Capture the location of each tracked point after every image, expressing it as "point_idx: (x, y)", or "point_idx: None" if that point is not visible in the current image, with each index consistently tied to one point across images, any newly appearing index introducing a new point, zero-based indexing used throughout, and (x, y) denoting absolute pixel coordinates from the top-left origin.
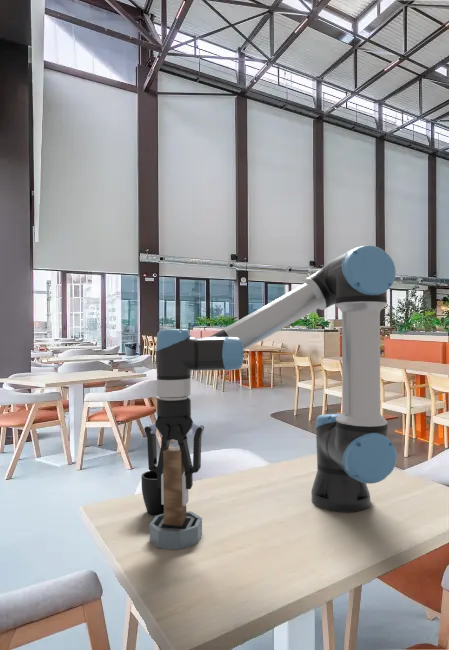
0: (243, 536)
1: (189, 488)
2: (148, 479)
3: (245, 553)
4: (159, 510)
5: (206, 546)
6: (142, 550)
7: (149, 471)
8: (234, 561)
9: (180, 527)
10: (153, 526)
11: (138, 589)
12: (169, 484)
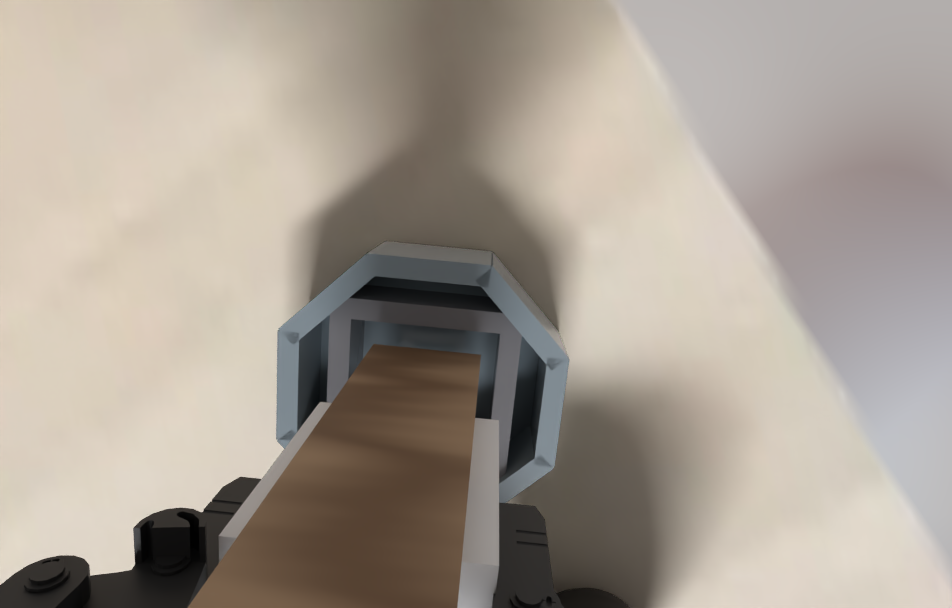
0: (97, 379)
1: (244, 482)
2: None
3: (56, 213)
4: (568, 605)
5: (258, 277)
6: (573, 229)
7: None
8: (93, 135)
9: None
10: (538, 329)
11: None
12: (408, 475)
